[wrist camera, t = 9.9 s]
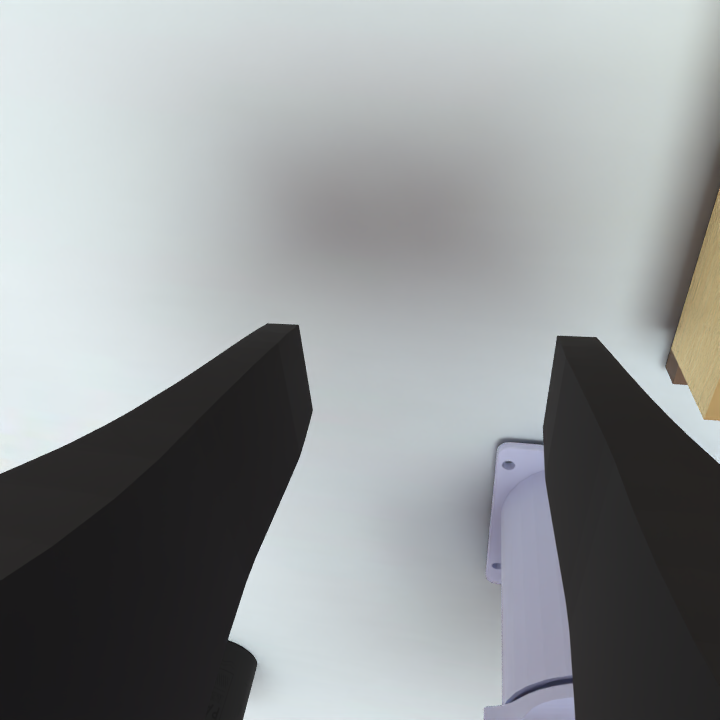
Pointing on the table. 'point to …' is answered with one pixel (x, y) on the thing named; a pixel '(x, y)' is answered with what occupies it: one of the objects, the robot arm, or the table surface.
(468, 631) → the table surface
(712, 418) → the tan slotted block
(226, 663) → the drinking cup
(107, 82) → the table surface
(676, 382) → the board
